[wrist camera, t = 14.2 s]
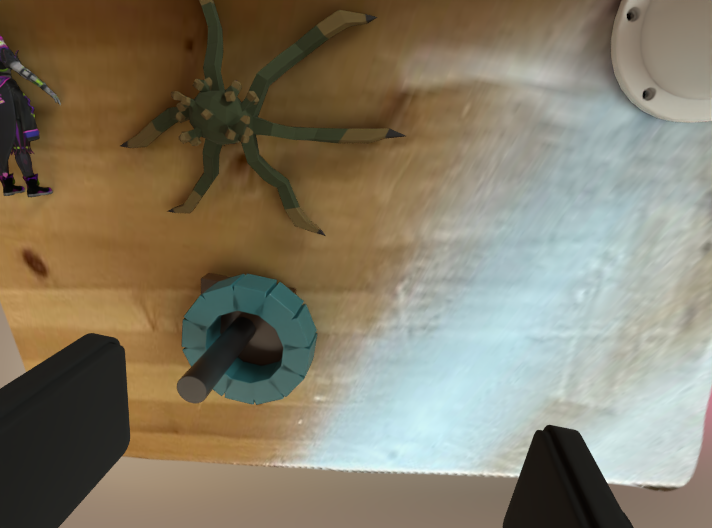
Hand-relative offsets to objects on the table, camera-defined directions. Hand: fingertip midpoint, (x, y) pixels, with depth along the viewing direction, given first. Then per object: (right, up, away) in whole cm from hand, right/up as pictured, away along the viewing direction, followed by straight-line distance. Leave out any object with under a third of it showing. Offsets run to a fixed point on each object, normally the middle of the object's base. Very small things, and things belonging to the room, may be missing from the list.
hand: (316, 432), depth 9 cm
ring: (-9, -3, +31) cm, 32 cm away
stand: (-10, -2, +32) cm, 34 cm away
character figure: (-30, +18, +28) cm, 45 cm away
